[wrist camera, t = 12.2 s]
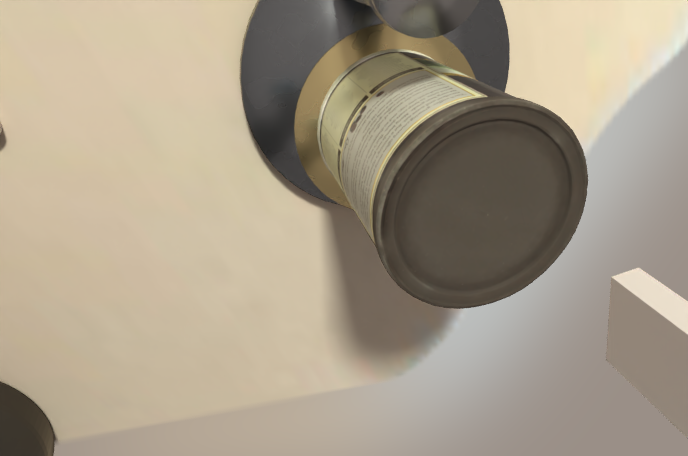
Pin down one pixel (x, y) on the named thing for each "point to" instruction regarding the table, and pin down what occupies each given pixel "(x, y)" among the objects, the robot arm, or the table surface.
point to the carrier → (349, 64)
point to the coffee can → (451, 177)
